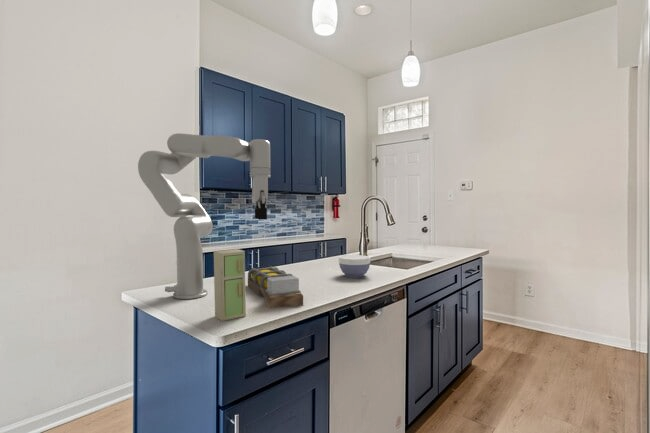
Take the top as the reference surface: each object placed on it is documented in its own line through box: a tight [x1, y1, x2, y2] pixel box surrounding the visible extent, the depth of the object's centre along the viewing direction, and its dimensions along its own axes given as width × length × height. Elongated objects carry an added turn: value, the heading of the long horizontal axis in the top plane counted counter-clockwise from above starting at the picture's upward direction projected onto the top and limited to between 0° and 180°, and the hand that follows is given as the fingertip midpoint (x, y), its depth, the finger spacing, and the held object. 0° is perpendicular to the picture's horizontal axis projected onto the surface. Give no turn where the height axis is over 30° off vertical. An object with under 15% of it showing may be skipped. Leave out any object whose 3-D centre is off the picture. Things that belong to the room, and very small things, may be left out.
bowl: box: [338, 254, 371, 279], centre depth 174 cm, size 16×16×10 cm
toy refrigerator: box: [213, 248, 247, 322], centre depth 110 cm, size 8×7×21 cm
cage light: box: [247, 266, 294, 299], centre depth 146 cm, size 15×8×30 cm
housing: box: [266, 275, 302, 296], centre depth 126 cm, size 11×7×5 cm, turn 115°
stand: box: [264, 292, 304, 309], centre depth 126 cm, size 12×10×4 cm
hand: (260, 218), depth 130 cm, fingers open, 9 cm apart
